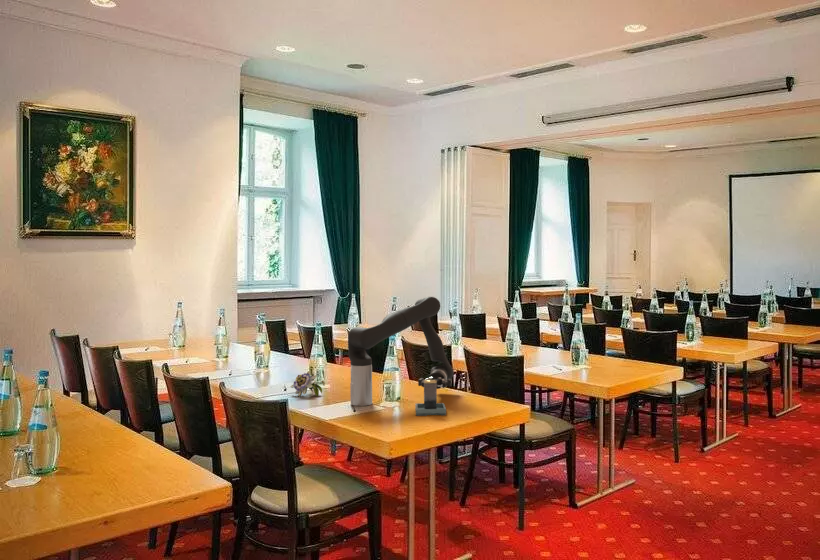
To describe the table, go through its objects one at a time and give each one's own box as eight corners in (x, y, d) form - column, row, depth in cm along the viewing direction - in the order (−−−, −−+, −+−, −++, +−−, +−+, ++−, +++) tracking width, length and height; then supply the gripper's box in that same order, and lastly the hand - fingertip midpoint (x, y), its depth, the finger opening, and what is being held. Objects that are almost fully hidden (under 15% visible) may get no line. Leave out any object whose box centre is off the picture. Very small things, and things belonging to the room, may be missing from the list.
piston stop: (424, 411, 293) (424, 381, 293) (423, 408, 298) (423, 379, 298) (437, 411, 293) (436, 381, 293) (436, 408, 299) (436, 379, 298)
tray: (416, 415, 290) (416, 409, 290) (415, 409, 302) (415, 403, 302) (446, 415, 290) (446, 409, 290) (444, 409, 302) (444, 403, 302)
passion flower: (300, 409, 332) (283, 385, 333) (315, 399, 342) (299, 376, 344) (316, 396, 325) (299, 372, 327) (332, 387, 336) (315, 363, 337)
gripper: (421, 370, 322) (416, 376, 306) (453, 370, 320) (450, 376, 304) (421, 386, 323) (416, 393, 307) (453, 387, 320) (450, 394, 304)
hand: (433, 385), depth 305 cm, fingers open, 8 cm apart
